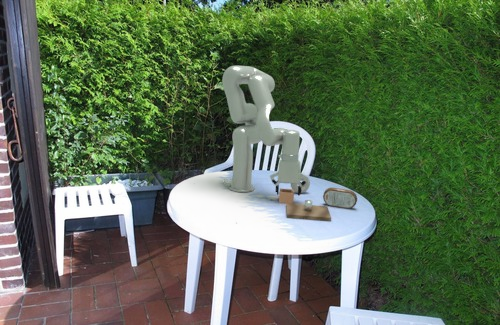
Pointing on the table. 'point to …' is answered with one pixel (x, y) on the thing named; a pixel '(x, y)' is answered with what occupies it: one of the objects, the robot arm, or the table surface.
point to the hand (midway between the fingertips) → (288, 194)
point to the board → (315, 214)
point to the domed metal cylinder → (308, 205)
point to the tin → (340, 198)
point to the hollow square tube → (286, 195)
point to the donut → (304, 187)
